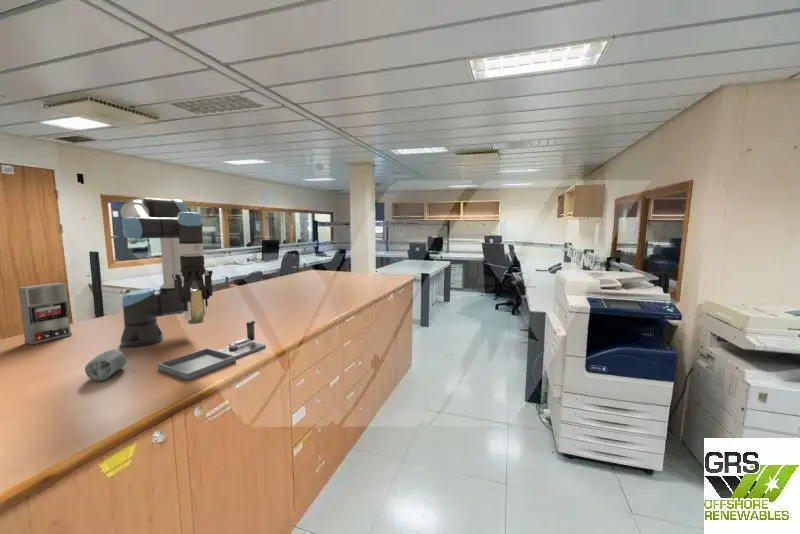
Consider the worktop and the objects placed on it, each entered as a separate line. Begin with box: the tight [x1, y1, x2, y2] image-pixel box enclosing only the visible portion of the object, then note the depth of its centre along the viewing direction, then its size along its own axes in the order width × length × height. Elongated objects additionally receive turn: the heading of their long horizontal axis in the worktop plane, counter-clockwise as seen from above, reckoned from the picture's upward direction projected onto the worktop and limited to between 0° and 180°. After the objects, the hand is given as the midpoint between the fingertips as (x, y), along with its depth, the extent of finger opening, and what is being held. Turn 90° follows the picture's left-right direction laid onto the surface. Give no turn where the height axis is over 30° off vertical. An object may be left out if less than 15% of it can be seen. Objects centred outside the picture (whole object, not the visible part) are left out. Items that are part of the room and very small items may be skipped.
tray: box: [157, 347, 237, 382], centre depth 126 cm, size 18×19×2 cm
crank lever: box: [228, 320, 256, 350], centre depth 145 cm, size 13×3×9 cm, turn 153°
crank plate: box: [217, 341, 267, 360], centre depth 142 cm, size 12×16×1 cm
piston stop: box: [187, 288, 205, 325], centre depth 124 cm, size 5×5×12 cm
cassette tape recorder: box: [18, 282, 73, 345], centre depth 152 cm, size 14×6×25 cm, turn 160°
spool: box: [84, 349, 127, 382], centre depth 118 cm, size 14×10×10 cm
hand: (195, 317), depth 124 cm, fingers closed on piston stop, 5 cm apart
